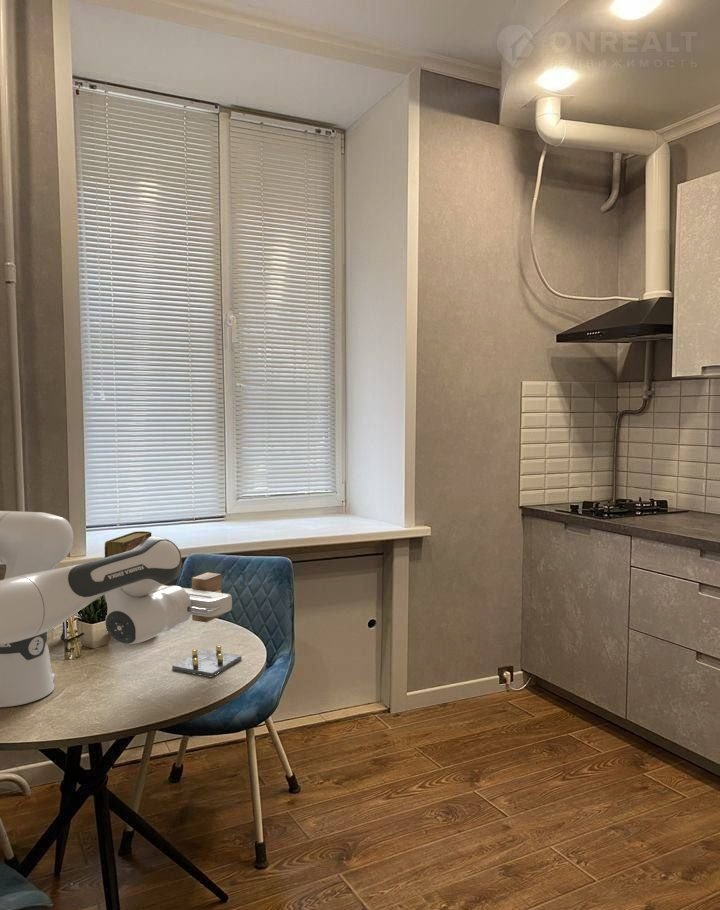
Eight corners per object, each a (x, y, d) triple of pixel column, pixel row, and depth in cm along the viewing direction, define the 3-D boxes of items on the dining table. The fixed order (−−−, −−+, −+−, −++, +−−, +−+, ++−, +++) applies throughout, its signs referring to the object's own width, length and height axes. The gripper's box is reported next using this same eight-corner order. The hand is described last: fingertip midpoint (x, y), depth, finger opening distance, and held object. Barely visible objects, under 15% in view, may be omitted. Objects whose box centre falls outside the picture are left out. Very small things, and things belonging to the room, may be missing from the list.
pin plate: (172, 669, 161) (172, 657, 161) (203, 653, 172) (203, 641, 172) (211, 677, 157) (211, 664, 156) (241, 659, 168) (241, 647, 167)
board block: (192, 620, 161) (191, 577, 161) (207, 613, 167) (207, 572, 166) (206, 622, 160) (206, 579, 159) (221, 615, 165) (221, 574, 165)
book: (137, 615, 202) (136, 531, 200) (154, 617, 201) (153, 531, 199) (106, 633, 186) (104, 541, 184) (124, 635, 185) (123, 542, 183)
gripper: (210, 598, 147) (246, 583, 159) (134, 587, 155) (174, 574, 167) (211, 627, 147) (246, 610, 160) (134, 615, 155) (174, 600, 168)
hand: (209, 591), depth 164 cm, fingers closed on board block, 4 cm apart
